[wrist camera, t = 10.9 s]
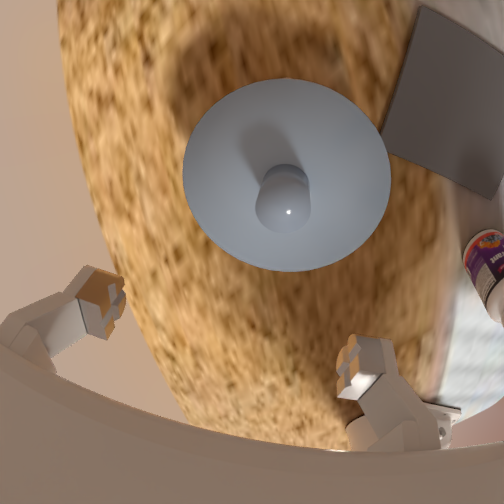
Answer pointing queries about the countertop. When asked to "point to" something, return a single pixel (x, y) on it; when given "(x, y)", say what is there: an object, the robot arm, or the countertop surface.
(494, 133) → the mat
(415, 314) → the countertop surface
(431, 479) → the robot arm
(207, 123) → the lid
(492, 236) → the pill bottle
